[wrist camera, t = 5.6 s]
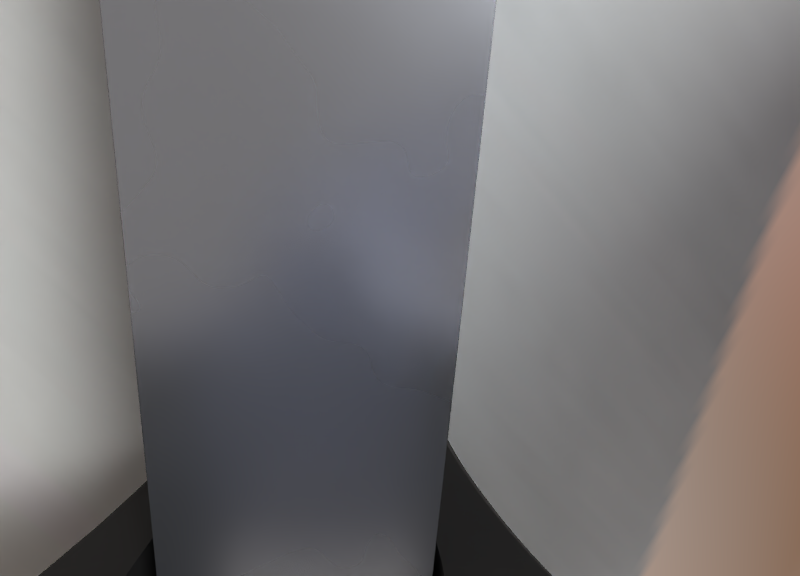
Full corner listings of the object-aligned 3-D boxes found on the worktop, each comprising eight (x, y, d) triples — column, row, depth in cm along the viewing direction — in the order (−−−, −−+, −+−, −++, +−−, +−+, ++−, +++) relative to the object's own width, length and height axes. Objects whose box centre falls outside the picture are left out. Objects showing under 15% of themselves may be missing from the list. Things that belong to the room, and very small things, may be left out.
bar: (463, -274, 8) (587, -724, 3) (383, 699, 14) (390, 986, 10) (217, -302, 7) (4, -822, 3) (248, 700, 14) (194, 993, 9)
